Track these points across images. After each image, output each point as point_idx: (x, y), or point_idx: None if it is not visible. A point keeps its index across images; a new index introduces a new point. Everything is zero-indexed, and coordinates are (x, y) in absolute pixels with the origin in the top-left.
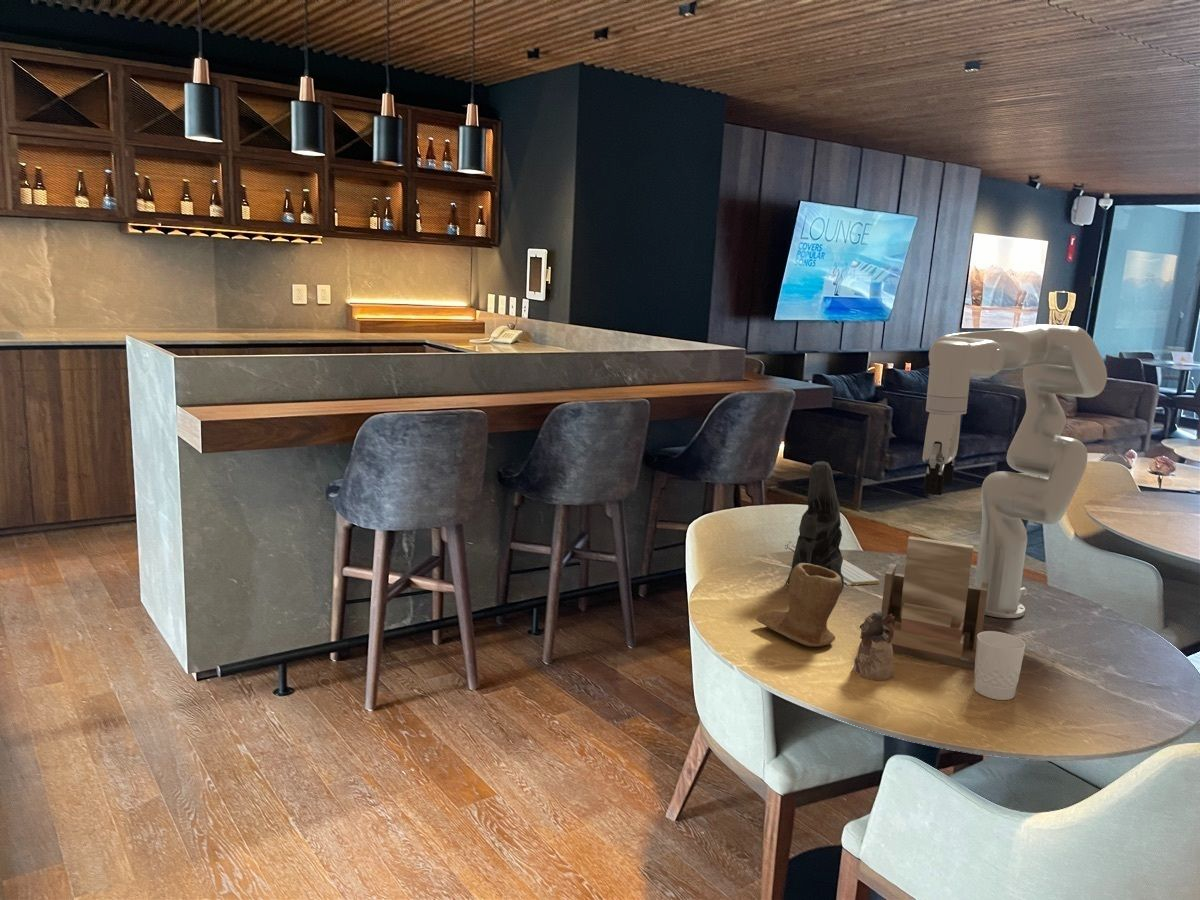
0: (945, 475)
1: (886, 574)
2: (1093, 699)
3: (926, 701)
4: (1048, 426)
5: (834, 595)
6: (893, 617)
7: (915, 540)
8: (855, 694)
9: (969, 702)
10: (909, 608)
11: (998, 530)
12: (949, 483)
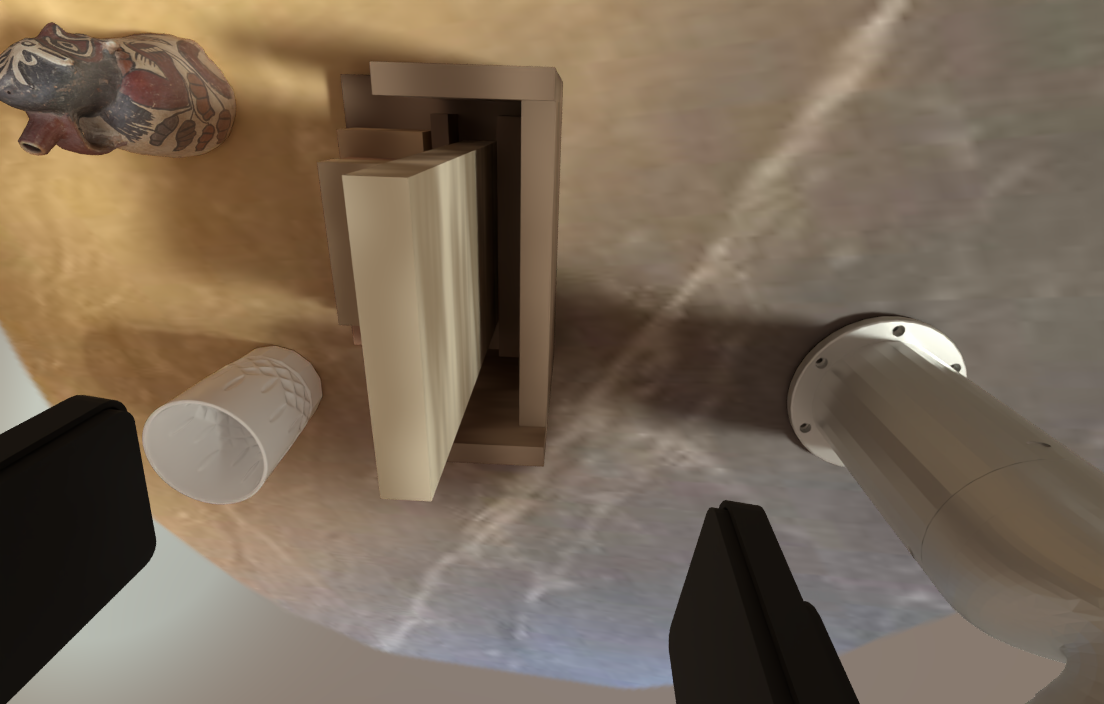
0: (703, 684)
1: (371, 68)
2: (376, 542)
3: (118, 248)
4: None
5: None
6: (30, 153)
7: (348, 220)
8: None
9: (187, 336)
10: (335, 187)
11: (986, 570)
12: (675, 633)
